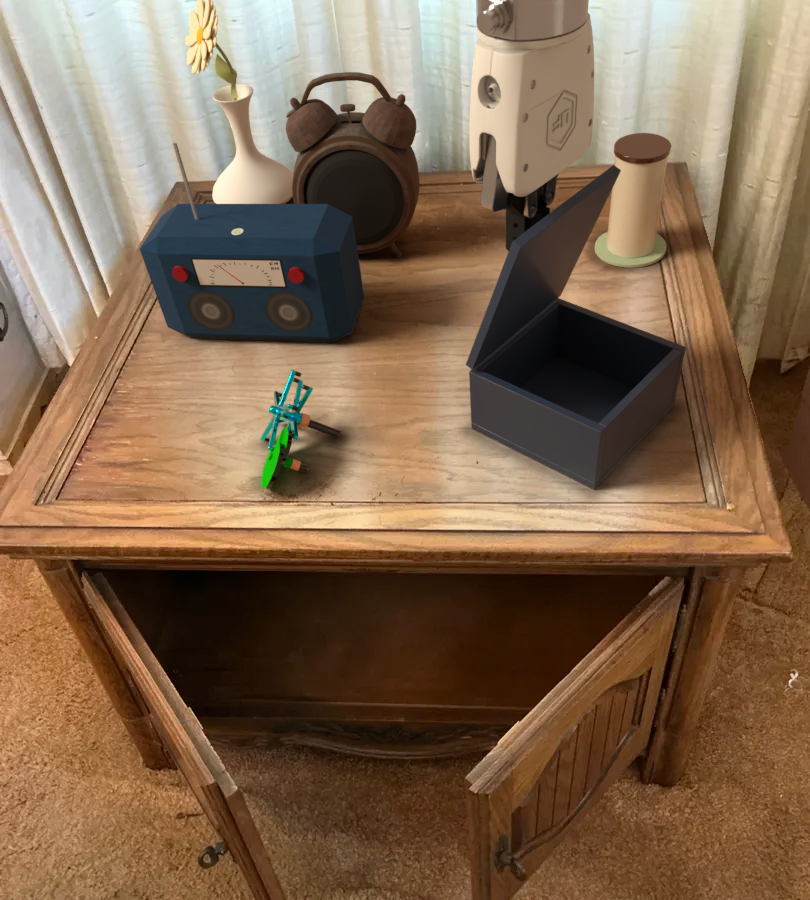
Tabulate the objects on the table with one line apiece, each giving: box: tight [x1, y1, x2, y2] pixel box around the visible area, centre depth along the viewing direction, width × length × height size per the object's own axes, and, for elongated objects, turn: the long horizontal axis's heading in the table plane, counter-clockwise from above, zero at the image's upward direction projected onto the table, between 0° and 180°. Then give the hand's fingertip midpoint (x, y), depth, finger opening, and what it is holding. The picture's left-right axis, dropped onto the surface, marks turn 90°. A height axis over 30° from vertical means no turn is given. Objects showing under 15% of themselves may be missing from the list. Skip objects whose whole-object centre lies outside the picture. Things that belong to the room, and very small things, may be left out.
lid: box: [465, 164, 621, 370], centre depth 71 cm, size 14×14×1 cm
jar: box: [606, 132, 672, 258], centre depth 93 cm, size 6×6×12 cm
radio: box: [139, 142, 365, 343], centre depth 87 cm, size 21×9×20 cm, turn 80°
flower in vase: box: [184, 0, 294, 204], centre depth 103 cm, size 13×11×25 cm
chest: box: [468, 297, 687, 490], centre depth 77 cm, size 14×14×7 cm
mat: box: [594, 231, 667, 269], centre depth 97 cm, size 8×8×1 cm
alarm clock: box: [285, 71, 420, 258], centre depth 95 cm, size 15×7×20 cm, turn 86°
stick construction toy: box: [259, 369, 341, 491], centre depth 79 cm, size 12×7×8 cm
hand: (526, 251), depth 71 cm, fingers closed
